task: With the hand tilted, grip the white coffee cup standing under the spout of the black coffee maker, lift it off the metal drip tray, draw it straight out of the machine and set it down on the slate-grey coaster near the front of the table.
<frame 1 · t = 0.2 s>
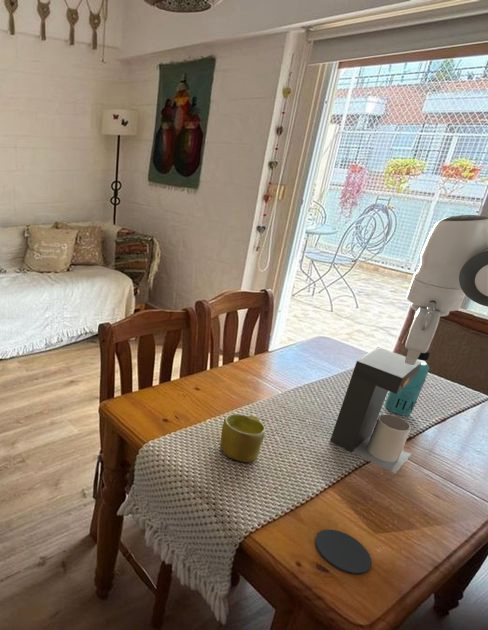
hand: (411, 355, 94), 28 cm above the table, tool pointing down, fingers open, 8 cm apart
mug: (241, 448, 107), on the table
coffee maker: (369, 450, 107), on the table
coaster: (342, 551, 81), on the table
beverage bottle: (395, 413, 122), on the table
coffee cup: (382, 452, 105), point 1 cm above the table, touching coffee maker
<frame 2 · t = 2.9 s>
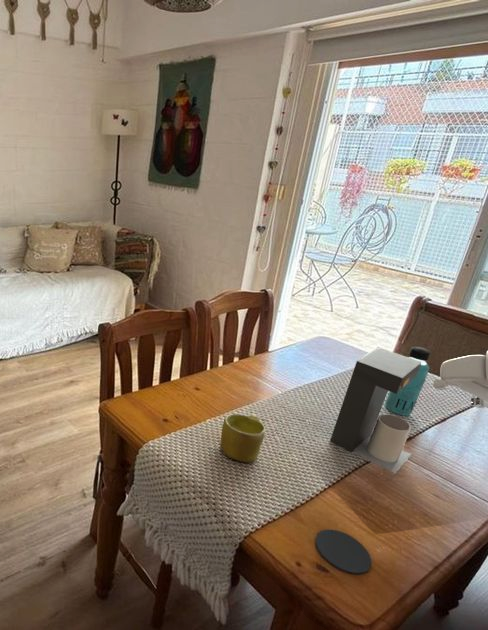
hand: (454, 394, 93), 21 cm above the table, tool tilted 50°, fingers open, 8 cm apart
nothing on the table moved.
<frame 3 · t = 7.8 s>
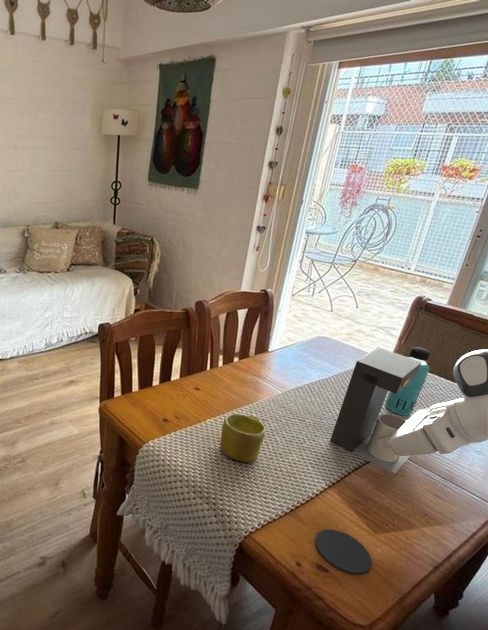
hand: (385, 435, 104), 6 cm above the table, tool tilted 45°, fingers closed on coffee cup, 6 cm apart
coffee cup: (382, 452, 105), point 1 cm above the table, touching coffee maker, gripper
everything else where it was.
when the fingers open (5 cm above the table, at t = 20.2 s): coffee cup stays where it is, resting on coaster.
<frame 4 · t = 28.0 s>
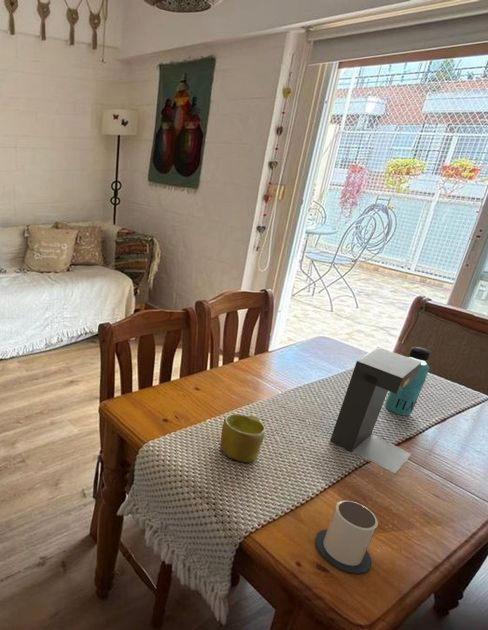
coffee cup: (342, 549, 81), resting on coaster
everything else where it was.
at the end: coffee cup 0.1 cm off-centre on the coaster, point 0.5 cm above the coaster's base; coffee cup tilted 0°; the gripper is holding nothing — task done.
